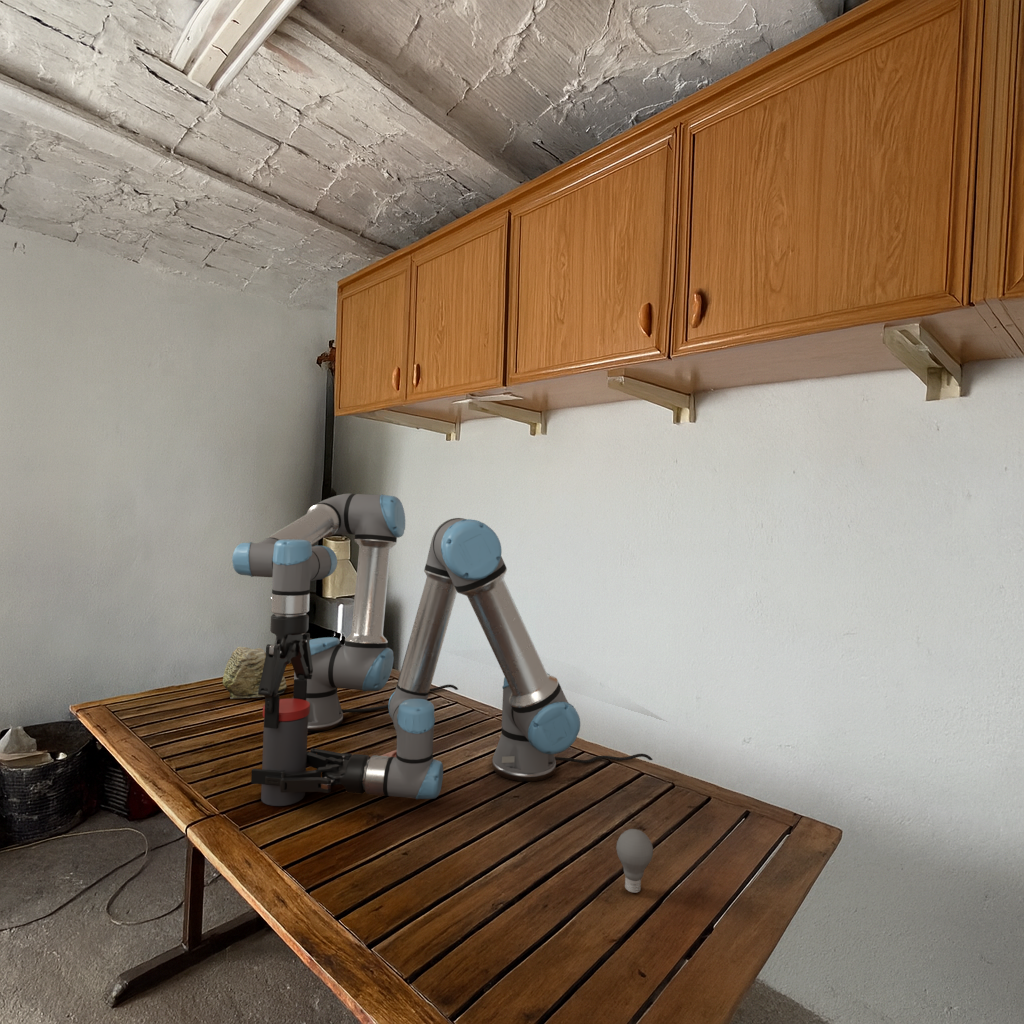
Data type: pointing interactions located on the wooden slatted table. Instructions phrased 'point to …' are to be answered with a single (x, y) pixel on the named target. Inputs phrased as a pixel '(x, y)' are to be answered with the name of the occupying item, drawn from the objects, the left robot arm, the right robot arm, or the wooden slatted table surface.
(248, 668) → the fossil
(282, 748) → the jar
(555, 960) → the wooden slatted table surface
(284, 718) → the lid
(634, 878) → the light bulb
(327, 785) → the right robot arm
